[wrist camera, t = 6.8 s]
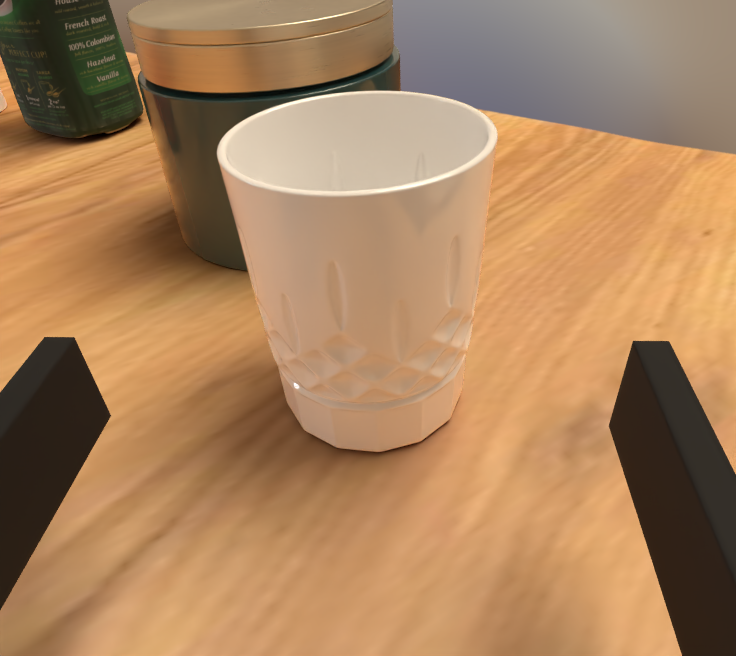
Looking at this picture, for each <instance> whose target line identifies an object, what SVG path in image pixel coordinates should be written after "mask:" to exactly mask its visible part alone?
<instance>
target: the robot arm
mask: <svg viewBox="0 0 736 656" xmlns="http://www.w3.org/2000/svg"><path fill="white" fill-rule="evenodd" d="M110 417H111V415H110V413H109V411H108V408H107V406H106V404H105V402H104V400H103V398H102V396H101V393H100V391H99V389H98V387H97V385H96V383H95V381H94V379H93V376H92V374H91V372H90V370H89V368H88V366H87V364H86V361H85V359H84V357H83V355H82V353H81V351H80V349H79V347H78V344H77V342H76V340H75V338H74V337H44V339H43V340H42V341H41V342H40V344H39V345H38V346H37V347H36V349H35V350H34V351H33V352H32V354H31V355H30V356H29V357H28V359H27V360H26V361H25V362H24V364H23V365H22V366H21V367H20V369H19V370H18V371H17V372H16V374H15V375H14V376H13V377H12V379H11V380H10V381H9V382H8V384H7V385H6V386H5V387H4V389H3V390H2V391H1V392H0V610H1V608H2V606H3V605H4V603H5V601H6V599H7V598H8V596H9V594H10V592H11V591H12V589H13V587H14V585H15V583H16V582H17V580H18V578H19V576H20V575H21V573H22V571H23V569H24V568H25V566H26V564H27V562H28V561H29V559H30V557H31V555H32V554H33V552H34V550H35V548H36V547H37V545H38V543H39V541H40V540H41V538H42V536H43V534H44V533H45V531H46V529H47V527H48V525H49V524H50V522H51V520H52V518H53V517H54V515H55V513H56V511H57V510H58V508H59V506H60V504H61V503H62V501H63V499H64V497H65V496H66V494H67V492H68V490H69V489H70V487H71V485H72V483H73V482H74V480H75V478H76V476H77V475H78V473H79V471H80V469H81V467H82V466H83V464H84V462H85V460H86V459H87V457H88V455H89V453H90V452H91V450H92V448H93V446H94V445H95V443H96V441H97V439H98V438H99V436H100V434H101V432H102V431H103V429H104V427H105V425H106V424H107V422H108V420H109V418H110ZM609 428H610V431H611V434H612V437H613V440H614V443H615V446H616V450H617V453H618V456H619V459H620V462H621V465H622V468H623V471H624V475H625V478H626V481H627V484H628V487H629V490H630V493H631V497H632V500H633V503H634V506H635V509H636V512H637V515H638V518H639V522H640V525H641V528H642V531H643V534H644V537H645V540H646V544H647V547H648V550H649V553H650V556H651V559H652V562H653V565H654V569H655V572H656V575H657V578H658V581H659V584H660V587H661V591H662V594H663V597H664V600H665V603H666V606H667V609H668V612H669V616H670V619H671V622H672V625H673V628H674V631H675V634H676V638H677V641H678V644H679V647H680V650H681V653H682V656H736V474H735V472H734V470H733V468H732V466H731V464H730V462H729V460H728V458H727V456H726V454H725V452H724V450H723V448H722V446H721V444H720V442H719V440H718V438H717V436H716V434H715V432H714V430H713V428H712V426H711V424H710V422H709V420H708V418H707V416H706V414H705V412H704V410H703V408H702V406H701V404H700V402H699V400H698V398H697V396H696V394H695V392H694V390H693V388H692V386H691V384H690V382H689V380H688V378H687V376H686V374H685V372H684V370H683V368H682V366H681V364H680V362H679V360H678V358H677V356H676V354H675V352H674V350H673V348H672V346H671V344H670V342H669V341H633V343H632V347H631V350H630V354H629V357H628V361H627V364H626V368H625V371H624V375H623V378H622V382H621V385H620V389H619V392H618V396H617V399H616V403H615V406H614V410H613V413H612V417H611V420H610V424H609Z"/></svg>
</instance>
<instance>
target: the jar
mask: <svg viewBox="0 0 736 656" xmlns="http://www.w3.org/2000/svg"><path fill="white" fill-rule="evenodd" d="M138 84H139V87H140V91H141V94H142V98H143V101H144V105H145V108H146V112H147V115H148V119H149V122H150V126H151V129H152V133H153V136H154V140H155V143H156V147H157V150H158V154H159V157H160V161H161V164H162V168H163V171H164V175H165V178H166V182H167V185H168V189H169V193H170V196H171V200H172V203H173V207H174V210H175V214H176V217H177V221H178V224H179V228H180V231H181V235H182V237H183V240H184V242H185V243H186V245H187V246H188V247H189V248H190V249H191V250H192V251H193V252H194V253H195V254H197V255H198V256H200V257H202V258H203V259H205V260H207V261H210V262H212V263H215V264H217V265H221V266H225V267H228V268H233V269H239V270H246V271H248V269H247V265H246V262H245V258H244V254H243V250H242V247H241V243H240V239H239V235H238V232H237V228H236V224H235V220H234V217H233V213H232V209H231V206H230V202H229V198H228V195H227V191H226V188H225V184H224V180H223V177H222V173H221V169H220V166H219V162H218V159H217V148H218V145H219V142H220V141H221V139H222V138H223V136H224V135H225V134H226V133H227V132H228V131H229V130H230V129H231V128H233V127H234V126H235V125H237V124H238V123H240V122H241V121H243V120H245V119H246V118H248V117H250V116H252V115H254V114H257V113H259V112H261V111H264V110H266V109H269V108H272V107H275V106H278V105H281V104H284V103H288V102H292V101H296V100H300V99H305V98H310V97H315V96H321V95H327V94H335V93H344V92H357V91H400V54H399V51H398V49H397V48H396V47H395V46H394V48H393V52H392V54H391V55H390V56H389V57H388V58H387V59H386V60H385V61H383V62H382V63H380V64H378V65H377V66H375V67H373V68H370V69H368V70H366V71H363V72H361V73H358V74H355V75H353V76H349V77H345V78H342V79H338V80H335V81H330V82H326V83H322V84H317V85H311V86H306V87H300V88H293V89H287V90H278V91H269V92H256V93H234V94H211V93H196V92H187V91H178V90H174V89H169V88H165V87H162V86H158V85H156V84H154V83H152V82H150V81H148V80H147V79H146V78H145V77H144V75H143V74H142V71H140V73H139V75H138Z"/></svg>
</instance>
